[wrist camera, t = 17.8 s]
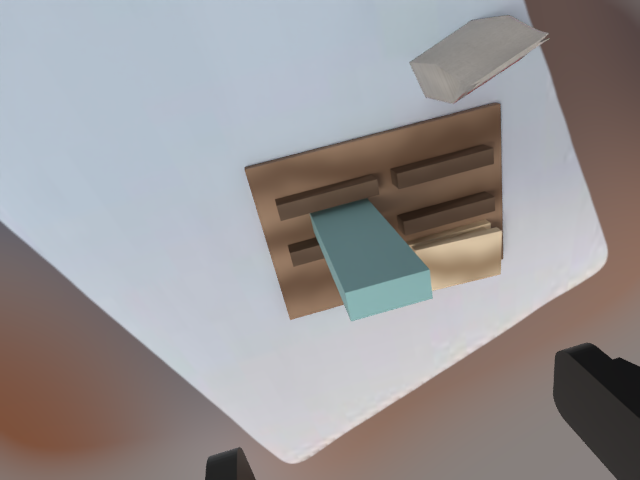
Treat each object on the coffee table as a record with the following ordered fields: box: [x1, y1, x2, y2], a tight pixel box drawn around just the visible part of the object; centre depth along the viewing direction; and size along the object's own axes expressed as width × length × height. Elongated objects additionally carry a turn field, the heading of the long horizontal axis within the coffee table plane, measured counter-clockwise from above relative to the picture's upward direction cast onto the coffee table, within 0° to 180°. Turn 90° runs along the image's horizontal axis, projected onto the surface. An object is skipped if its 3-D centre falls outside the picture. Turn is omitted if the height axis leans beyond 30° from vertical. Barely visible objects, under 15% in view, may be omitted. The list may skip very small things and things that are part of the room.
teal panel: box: [310, 198, 433, 321], centre depth 36 cm, size 2×6×16 cm, turn 102°
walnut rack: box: [245, 103, 503, 320], centre depth 43 cm, size 18×26×3 cm
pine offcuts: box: [406, 219, 502, 291], centre depth 46 cm, size 6×10×3 cm, turn 102°
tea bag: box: [409, 15, 549, 104], centre depth 35 cm, size 4×7×10 cm, turn 122°
